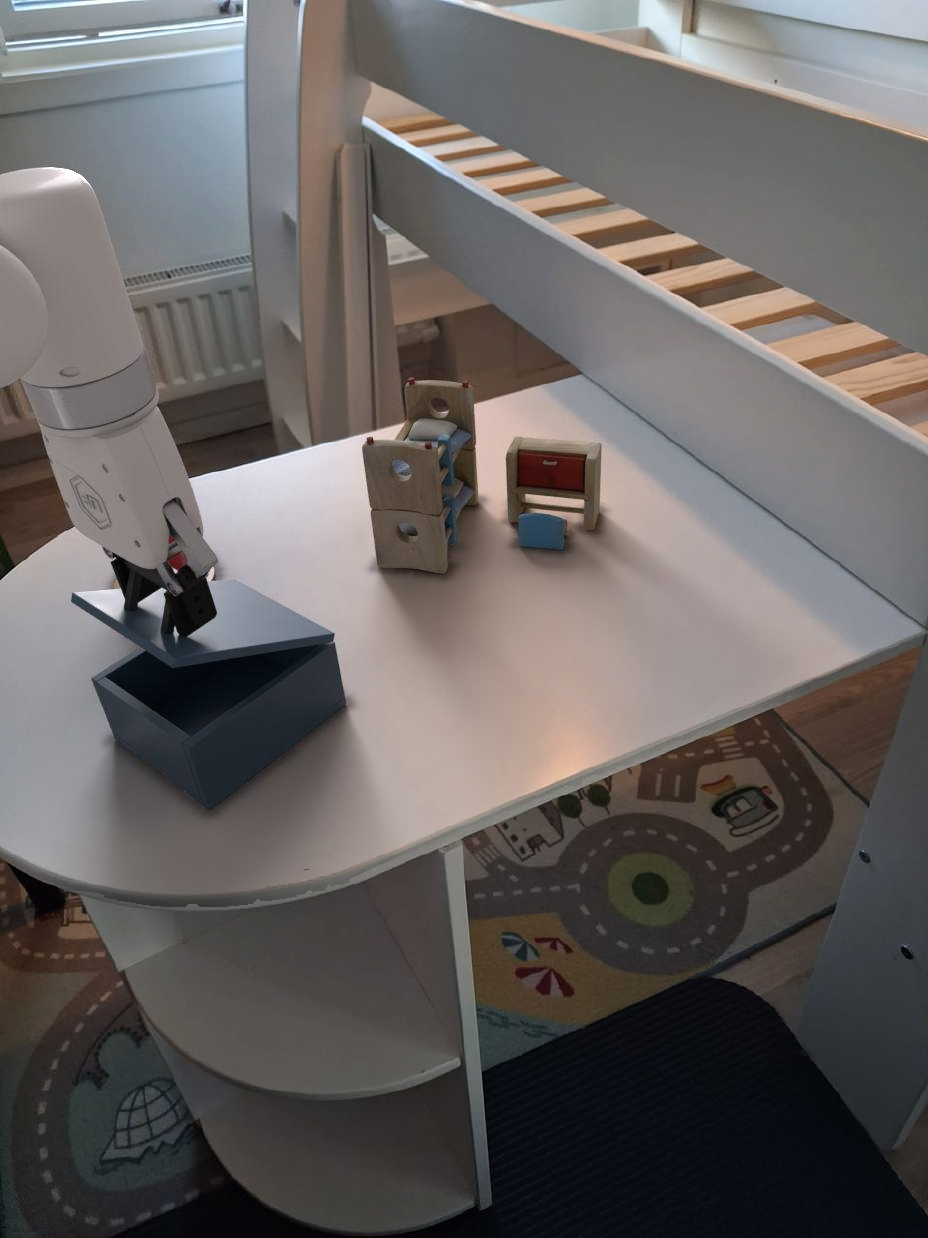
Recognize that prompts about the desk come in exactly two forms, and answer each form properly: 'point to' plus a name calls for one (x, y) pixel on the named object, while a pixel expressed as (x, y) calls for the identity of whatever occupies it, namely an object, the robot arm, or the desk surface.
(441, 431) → the dollhouse furniture set
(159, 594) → the lid
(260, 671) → the blue rectangular box
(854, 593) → the desk surface
